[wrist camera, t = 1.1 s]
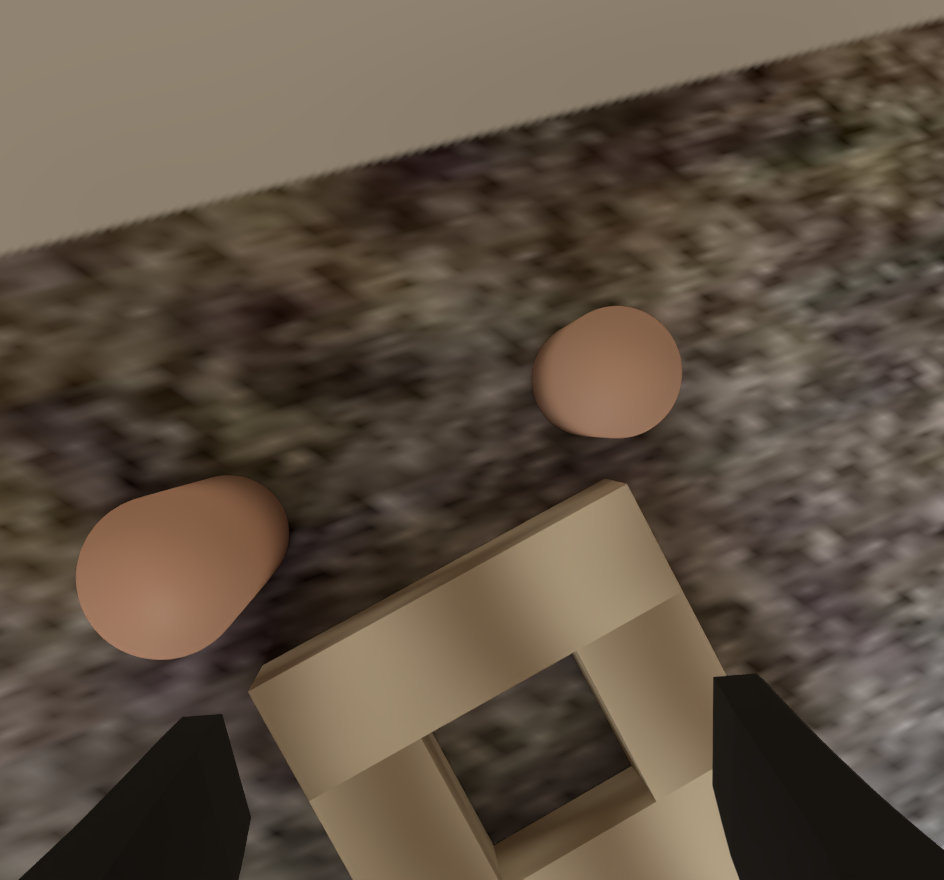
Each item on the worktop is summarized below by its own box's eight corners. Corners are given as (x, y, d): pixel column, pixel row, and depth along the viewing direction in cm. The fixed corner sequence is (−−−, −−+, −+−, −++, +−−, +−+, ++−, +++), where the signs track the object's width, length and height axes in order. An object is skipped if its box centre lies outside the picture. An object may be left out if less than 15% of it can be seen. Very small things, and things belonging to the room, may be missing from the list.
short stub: (564, 456, 26) (590, 461, 22) (511, 355, 26) (529, 343, 22) (663, 403, 26) (704, 399, 23) (611, 302, 26) (644, 283, 22)
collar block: (447, 997, 26) (453, 1059, 23) (262, 665, 25) (247, 691, 22) (774, 804, 26) (813, 843, 24) (604, 478, 26) (626, 483, 23)
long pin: (204, 614, 25) (127, 689, 18) (145, 510, 25) (45, 544, 18) (310, 557, 25) (275, 609, 18) (253, 453, 25) (196, 465, 18)
